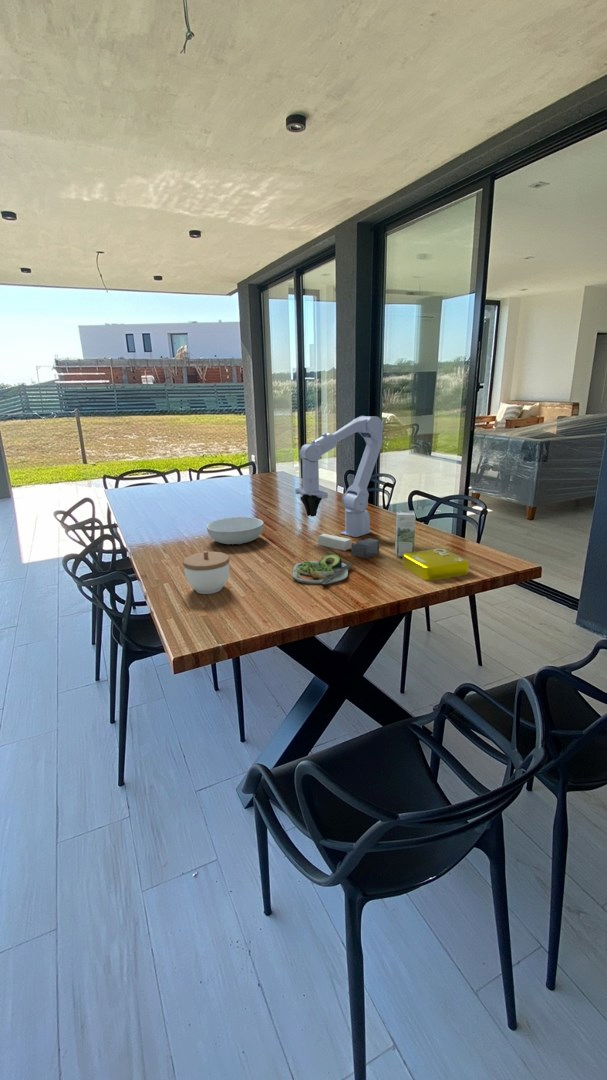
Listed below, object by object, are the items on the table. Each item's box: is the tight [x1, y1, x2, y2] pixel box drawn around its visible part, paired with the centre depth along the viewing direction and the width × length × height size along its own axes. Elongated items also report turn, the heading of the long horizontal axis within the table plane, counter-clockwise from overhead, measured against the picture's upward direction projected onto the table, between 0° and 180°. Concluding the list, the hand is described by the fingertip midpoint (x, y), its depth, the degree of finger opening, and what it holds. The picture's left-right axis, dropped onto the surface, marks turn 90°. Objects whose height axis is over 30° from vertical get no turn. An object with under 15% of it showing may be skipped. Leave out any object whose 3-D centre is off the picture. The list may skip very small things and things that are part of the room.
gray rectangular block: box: [317, 533, 352, 551], centre depth 173 cm, size 4×12×4 cm, turn 48°
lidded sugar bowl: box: [182, 550, 230, 595], centre depth 136 cm, size 13×13×11 cm
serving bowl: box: [206, 516, 264, 546], centre depth 182 cm, size 21×21×7 cm
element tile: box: [402, 548, 470, 581], centre depth 147 cm, size 15×15×5 cm
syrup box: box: [394, 510, 417, 558], centre depth 160 cm, size 6×6×14 cm
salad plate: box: [292, 554, 353, 585], centre depth 145 cm, size 19×18×5 cm
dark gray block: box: [350, 537, 380, 560], centre depth 163 cm, size 7×6×5 cm
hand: (311, 515), depth 179 cm, fingers closed
